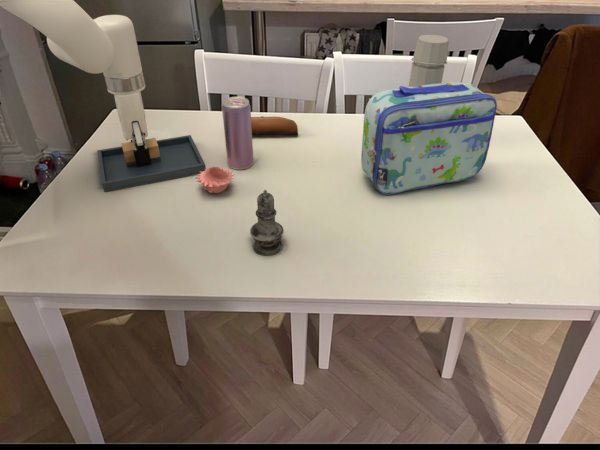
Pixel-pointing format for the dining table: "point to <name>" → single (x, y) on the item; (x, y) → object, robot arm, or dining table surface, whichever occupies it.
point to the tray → (174, 164)
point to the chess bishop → (266, 227)
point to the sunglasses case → (273, 125)
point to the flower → (215, 179)
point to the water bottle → (429, 60)
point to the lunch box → (426, 135)
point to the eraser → (151, 146)
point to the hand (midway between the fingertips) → (142, 159)
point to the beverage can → (238, 132)
